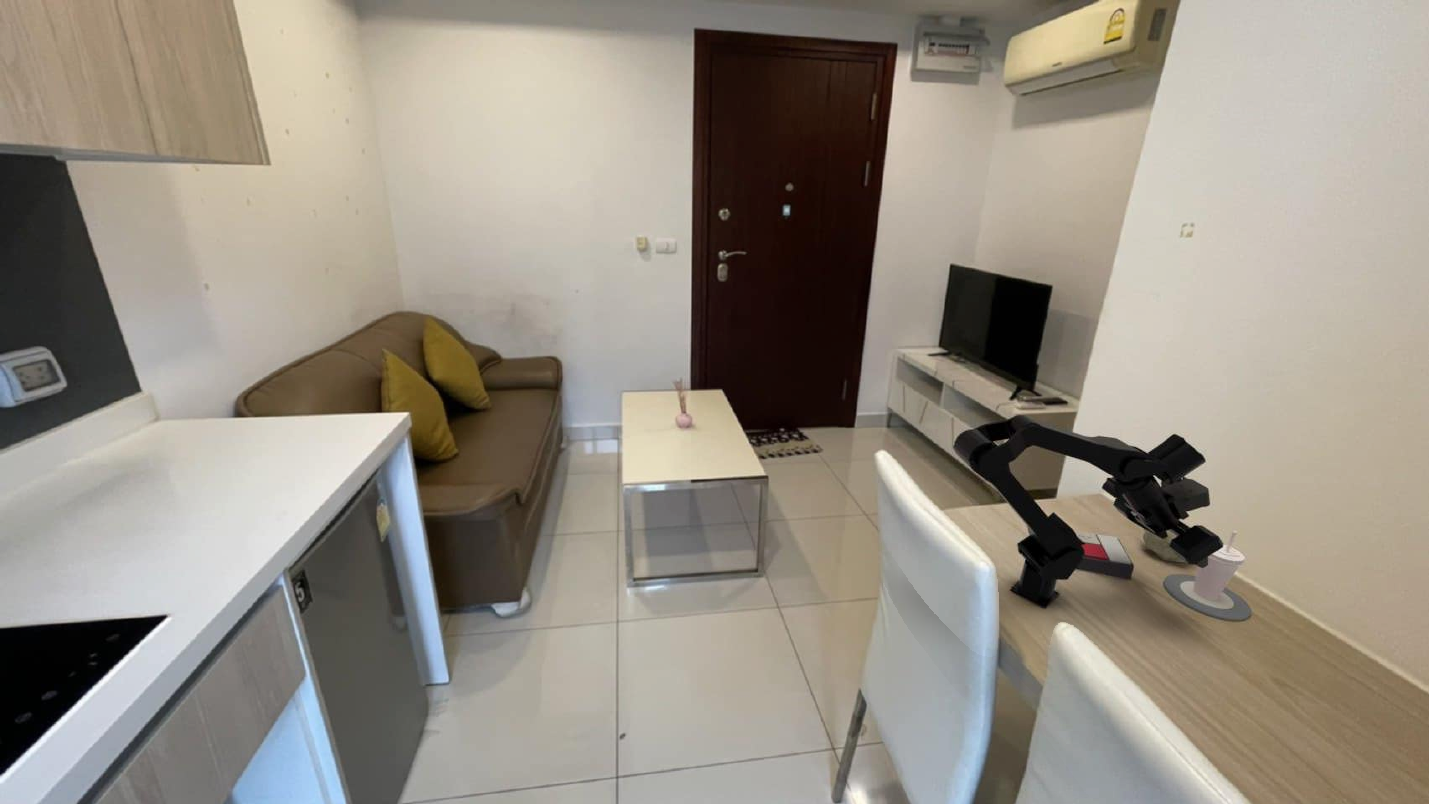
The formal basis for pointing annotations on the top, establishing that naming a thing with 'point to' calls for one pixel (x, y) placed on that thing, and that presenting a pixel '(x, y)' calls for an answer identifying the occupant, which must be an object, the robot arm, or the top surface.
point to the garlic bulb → (1161, 545)
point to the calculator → (1104, 556)
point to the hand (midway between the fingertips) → (1184, 551)
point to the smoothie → (1218, 571)
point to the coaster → (1222, 608)
